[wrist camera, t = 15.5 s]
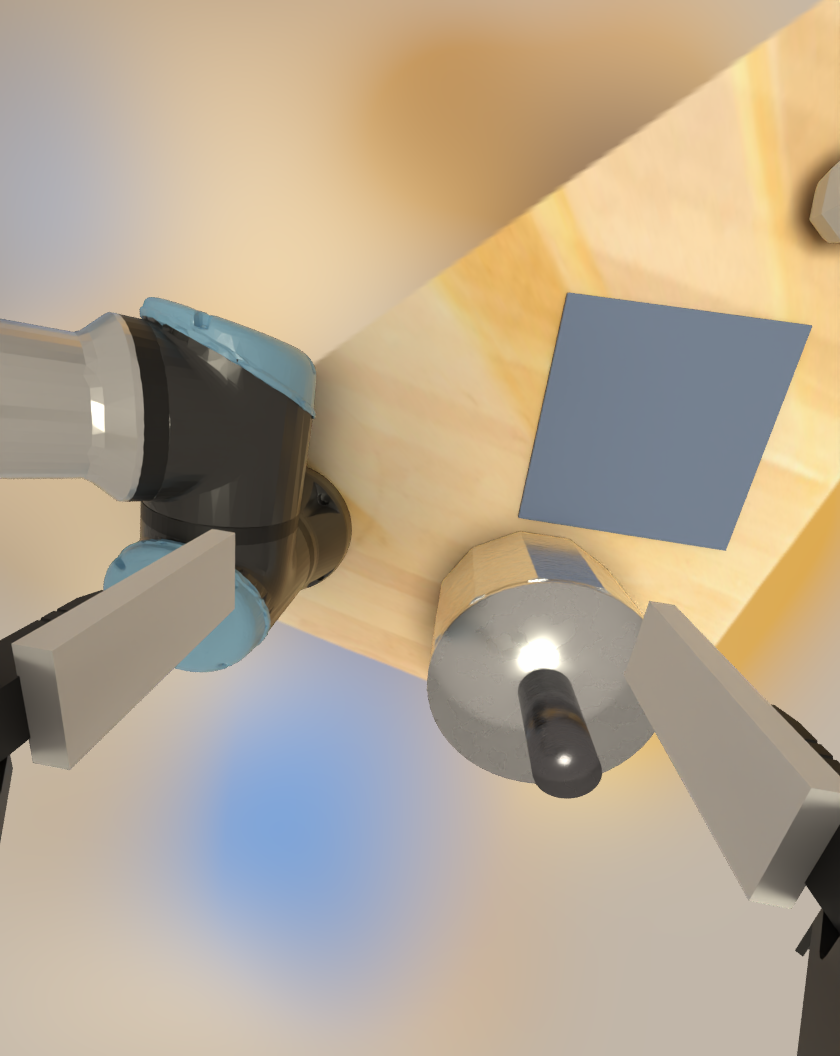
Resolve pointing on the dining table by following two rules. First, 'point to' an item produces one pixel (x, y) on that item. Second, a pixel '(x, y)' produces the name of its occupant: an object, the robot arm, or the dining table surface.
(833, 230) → the grey faceted round piece
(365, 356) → the dining table surface
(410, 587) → the dining table surface
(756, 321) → the mat
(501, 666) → the cake dome
